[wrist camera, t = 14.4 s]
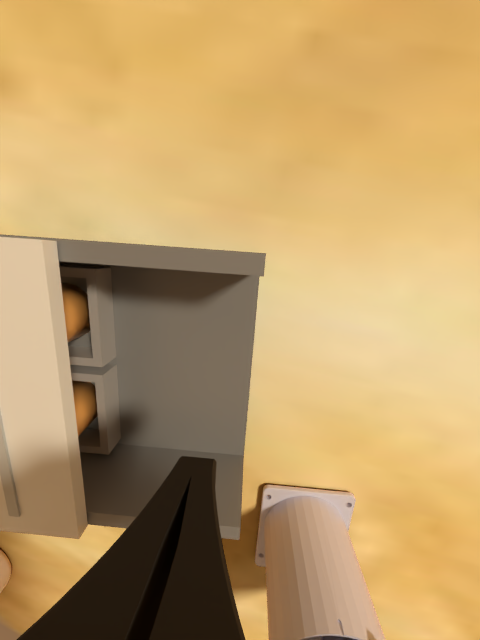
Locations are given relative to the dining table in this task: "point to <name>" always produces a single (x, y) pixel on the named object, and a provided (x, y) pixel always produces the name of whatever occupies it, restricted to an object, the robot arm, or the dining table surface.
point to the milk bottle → (4, 570)
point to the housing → (159, 367)
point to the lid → (36, 397)
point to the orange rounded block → (84, 404)
